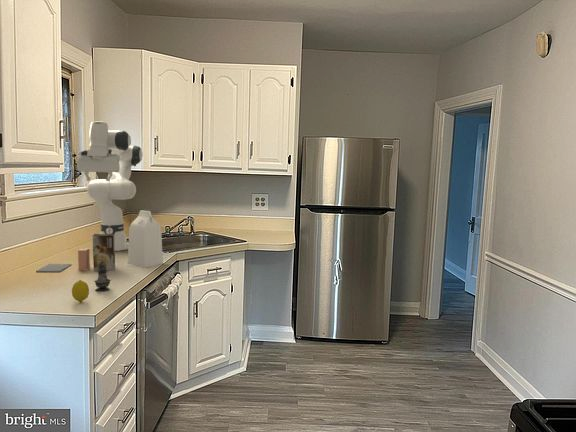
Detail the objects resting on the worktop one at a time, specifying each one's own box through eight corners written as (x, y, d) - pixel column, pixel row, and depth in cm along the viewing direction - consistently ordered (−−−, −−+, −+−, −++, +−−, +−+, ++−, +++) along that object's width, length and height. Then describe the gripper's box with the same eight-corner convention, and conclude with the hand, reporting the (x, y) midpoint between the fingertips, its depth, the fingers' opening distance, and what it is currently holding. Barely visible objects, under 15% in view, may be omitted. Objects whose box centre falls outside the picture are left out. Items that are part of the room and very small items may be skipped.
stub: (81, 267, 213) (81, 248, 212) (89, 267, 213) (89, 248, 212) (78, 269, 208) (78, 249, 207) (86, 270, 209) (86, 250, 208)
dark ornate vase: (91, 291, 176) (90, 260, 174) (100, 287, 182) (99, 257, 180) (105, 292, 175) (104, 261, 173) (113, 288, 181) (113, 258, 179)
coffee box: (115, 267, 216) (115, 233, 214) (114, 270, 210) (114, 235, 208) (94, 267, 214) (94, 233, 212) (92, 270, 207) (92, 235, 206)
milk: (163, 263, 227) (163, 211, 224) (144, 267, 217) (144, 212, 214) (146, 260, 233) (146, 209, 230) (127, 263, 224) (127, 210, 221)
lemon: (89, 299, 166) (88, 277, 165) (89, 303, 161) (88, 281, 160) (72, 300, 163) (71, 278, 163) (71, 305, 158) (71, 282, 158)
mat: (49, 265, 216) (49, 263, 216) (71, 265, 217) (71, 264, 217) (36, 272, 202) (36, 270, 202) (60, 272, 203) (60, 270, 203)
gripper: (121, 154, 234) (121, 182, 234) (80, 153, 233) (80, 181, 233) (117, 153, 227) (117, 181, 228) (75, 152, 226) (75, 180, 227)
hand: (98, 181), depth 230 cm, fingers open, 8 cm apart
